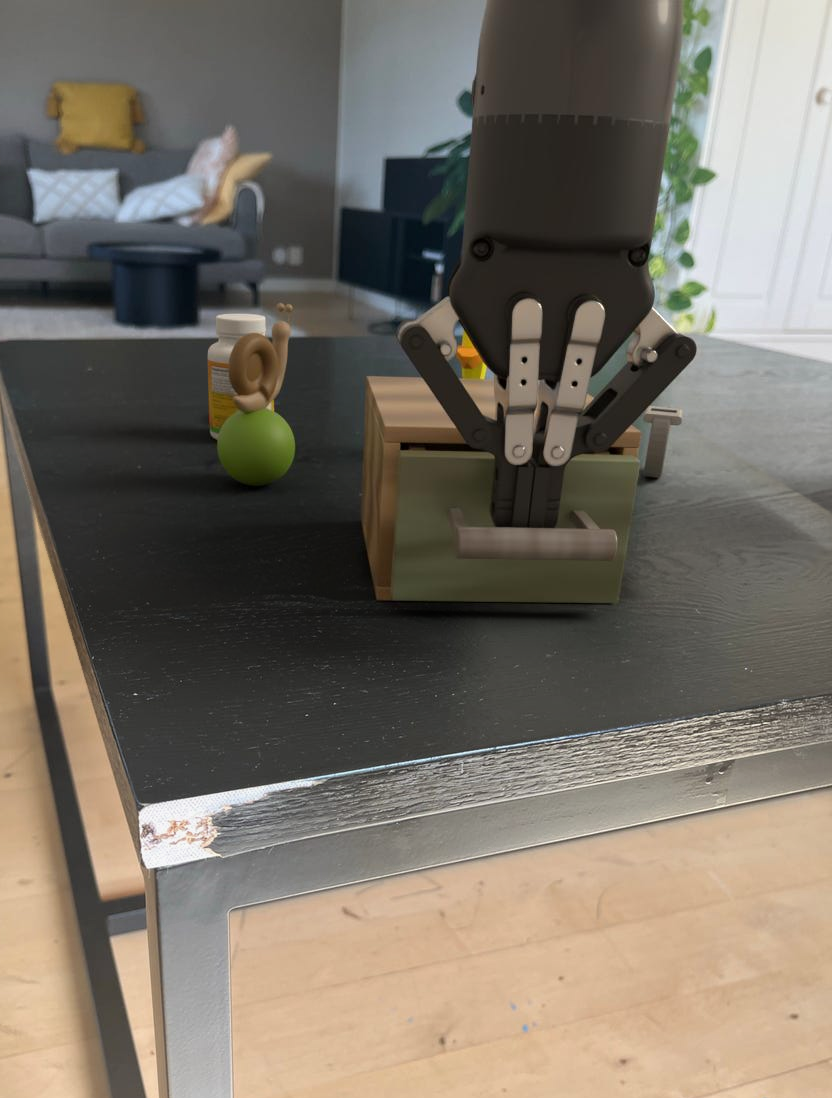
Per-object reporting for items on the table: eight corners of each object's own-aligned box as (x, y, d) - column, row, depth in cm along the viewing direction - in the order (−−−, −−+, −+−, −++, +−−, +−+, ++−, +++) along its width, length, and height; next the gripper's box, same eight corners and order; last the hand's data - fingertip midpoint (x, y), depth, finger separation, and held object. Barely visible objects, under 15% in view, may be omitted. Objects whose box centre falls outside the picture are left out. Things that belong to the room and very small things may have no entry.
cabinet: (614, 603, 52) (641, 431, 48) (376, 601, 51) (384, 425, 47) (553, 523, 64) (571, 381, 60) (360, 520, 63) (366, 375, 60)
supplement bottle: (235, 426, 86) (233, 310, 82) (286, 435, 84) (287, 316, 80) (196, 437, 82) (192, 316, 78) (248, 447, 80) (247, 322, 76)
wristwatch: (670, 488, 73) (682, 420, 71) (632, 484, 74) (642, 417, 72) (672, 468, 78) (683, 405, 76) (636, 464, 79) (646, 401, 77)
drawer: (650, 645, 45) (677, 490, 42) (402, 643, 44) (411, 485, 41) (558, 525, 61) (573, 406, 58) (374, 522, 60) (379, 402, 57)
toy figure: (481, 471, 75) (495, 307, 70) (435, 467, 76) (446, 304, 71) (492, 451, 81) (506, 298, 76) (449, 447, 82) (461, 295, 77)
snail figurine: (316, 479, 72) (320, 306, 67) (265, 500, 67) (265, 314, 62) (255, 467, 74) (254, 299, 69) (202, 486, 69) (197, 307, 64)
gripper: (409, 97, 34) (383, 565, 41) (780, 115, 35) (691, 571, 42) (391, 111, 41) (371, 512, 48) (701, 126, 42) (636, 518, 49)
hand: (521, 539), depth 45 cm, fingers closed
